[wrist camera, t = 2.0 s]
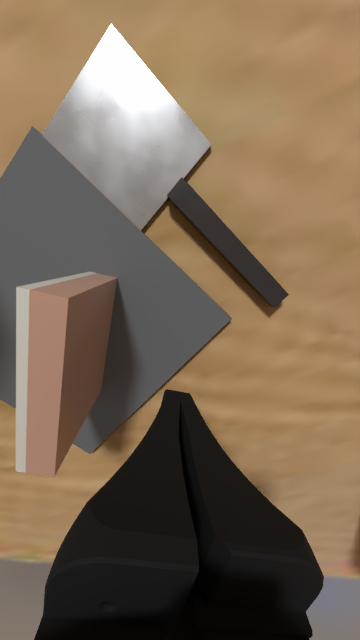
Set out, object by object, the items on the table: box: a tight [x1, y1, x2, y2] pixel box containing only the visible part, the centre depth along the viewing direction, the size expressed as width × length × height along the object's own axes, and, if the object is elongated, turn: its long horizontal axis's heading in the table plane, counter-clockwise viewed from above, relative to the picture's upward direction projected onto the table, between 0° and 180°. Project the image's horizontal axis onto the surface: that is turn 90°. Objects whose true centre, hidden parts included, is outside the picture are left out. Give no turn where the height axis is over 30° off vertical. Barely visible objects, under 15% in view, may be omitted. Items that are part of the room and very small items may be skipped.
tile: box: [16, 272, 117, 477], centre depth 13 cm, size 2×10×8 cm, turn 166°
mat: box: [0, 126, 232, 454], centre depth 17 cm, size 19×18×1 cm
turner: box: [42, 24, 289, 308], centre depth 14 cm, size 19×7×1 cm, turn 47°
